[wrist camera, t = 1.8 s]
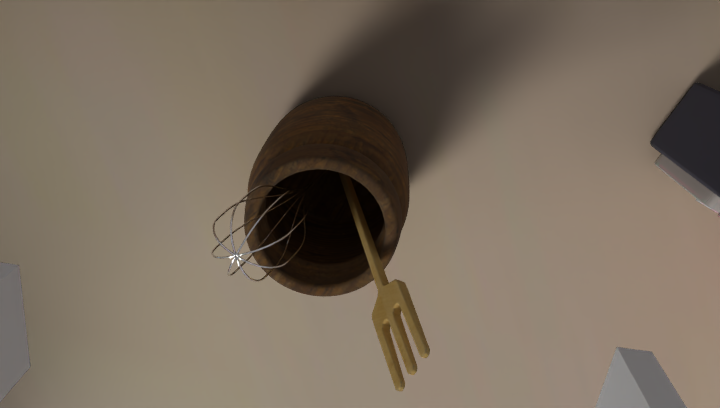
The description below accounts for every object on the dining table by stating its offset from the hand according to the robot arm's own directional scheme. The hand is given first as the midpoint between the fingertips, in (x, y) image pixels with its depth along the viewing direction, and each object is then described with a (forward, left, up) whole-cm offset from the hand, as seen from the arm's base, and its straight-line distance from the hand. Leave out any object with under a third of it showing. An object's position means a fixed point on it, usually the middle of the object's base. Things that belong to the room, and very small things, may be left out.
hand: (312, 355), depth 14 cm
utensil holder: (0, 0, -14) cm, 14 cm away
